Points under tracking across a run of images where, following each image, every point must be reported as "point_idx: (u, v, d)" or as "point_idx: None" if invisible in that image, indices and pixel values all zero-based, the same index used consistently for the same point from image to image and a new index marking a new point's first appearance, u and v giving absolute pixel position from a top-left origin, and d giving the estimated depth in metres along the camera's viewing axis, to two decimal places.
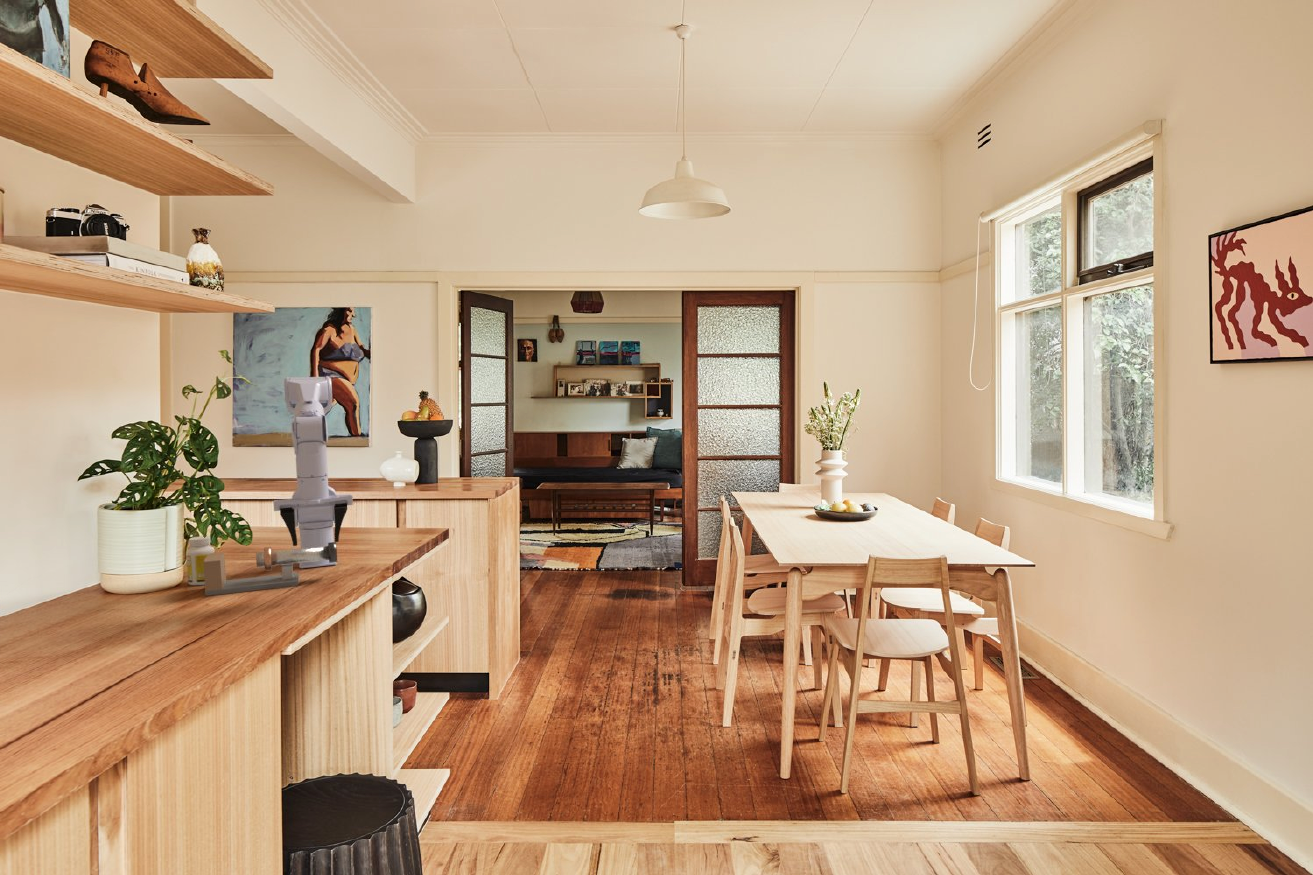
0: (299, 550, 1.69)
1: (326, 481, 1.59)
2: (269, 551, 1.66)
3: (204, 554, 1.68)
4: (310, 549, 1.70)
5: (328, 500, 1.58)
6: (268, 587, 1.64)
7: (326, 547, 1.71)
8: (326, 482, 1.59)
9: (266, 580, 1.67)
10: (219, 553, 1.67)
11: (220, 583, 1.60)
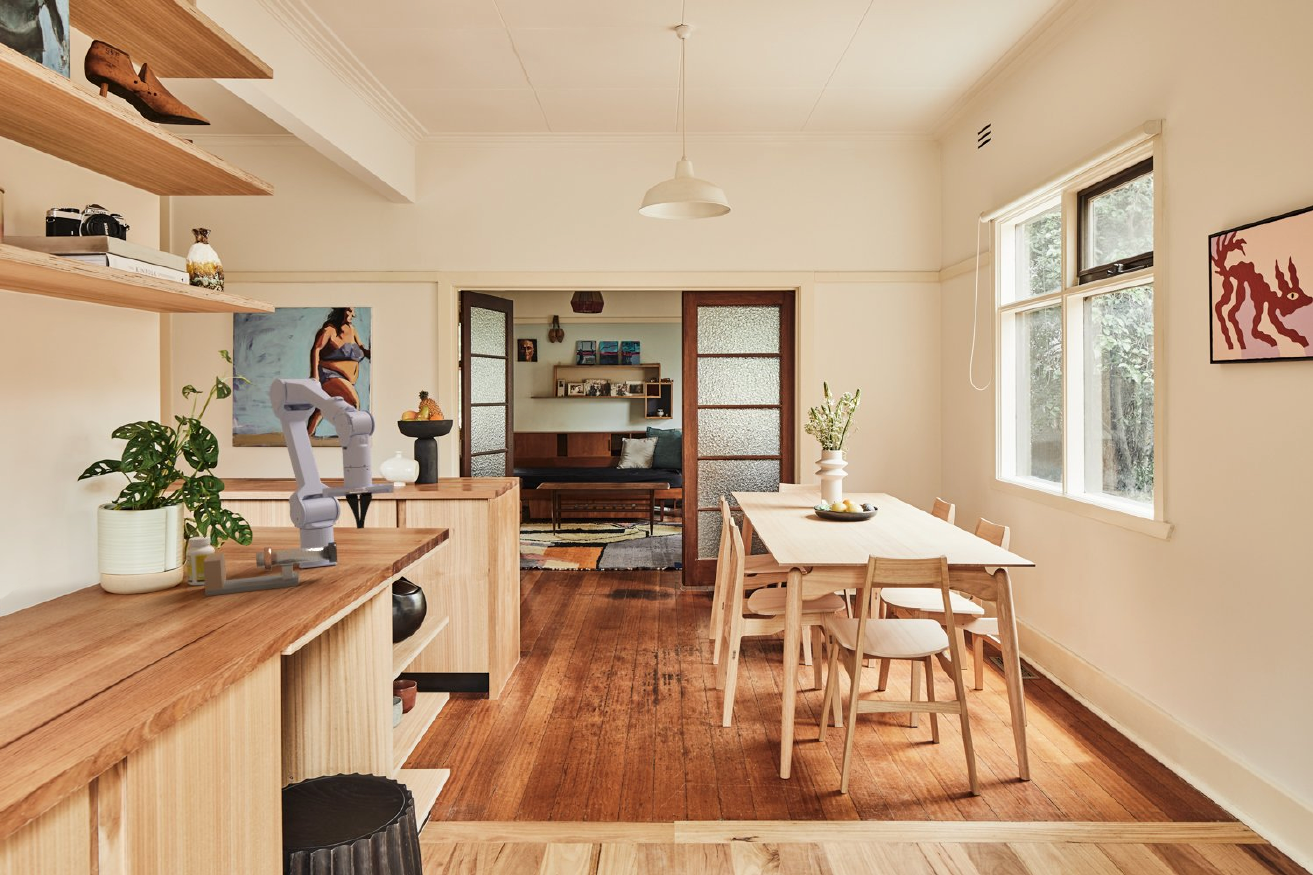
0: (299, 550, 1.69)
1: (370, 471, 1.73)
2: (269, 551, 1.66)
3: (204, 554, 1.68)
4: (310, 549, 1.70)
5: (372, 488, 1.73)
6: (268, 587, 1.64)
7: (326, 547, 1.71)
8: (370, 472, 1.73)
9: (266, 580, 1.67)
10: (219, 553, 1.67)
11: (220, 583, 1.60)
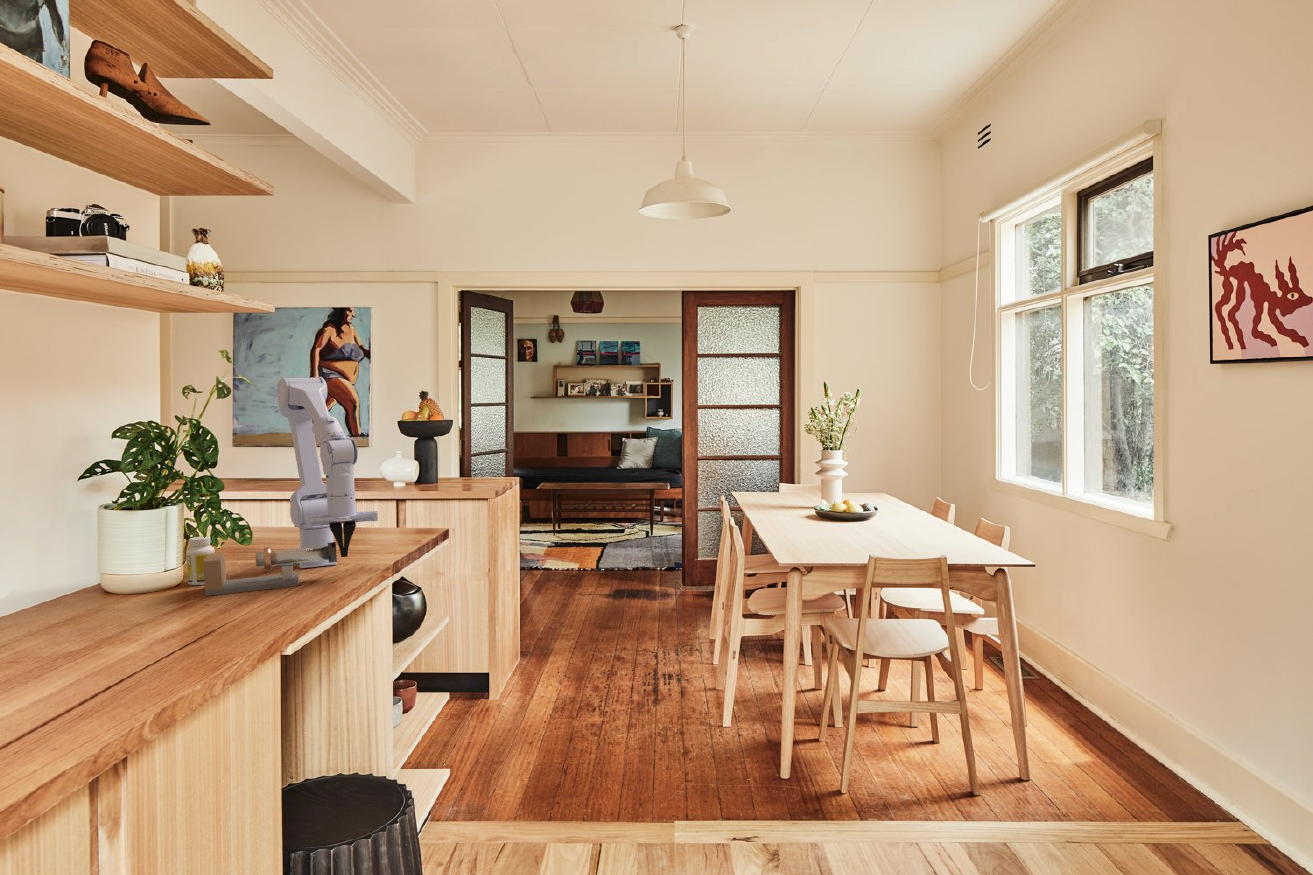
0: (299, 550, 1.69)
1: (353, 499, 1.72)
2: (269, 551, 1.66)
3: (204, 554, 1.68)
4: (310, 549, 1.70)
5: (355, 517, 1.72)
6: (268, 587, 1.64)
7: (326, 547, 1.71)
8: (353, 500, 1.72)
9: (266, 580, 1.67)
10: (219, 553, 1.67)
11: (220, 583, 1.60)
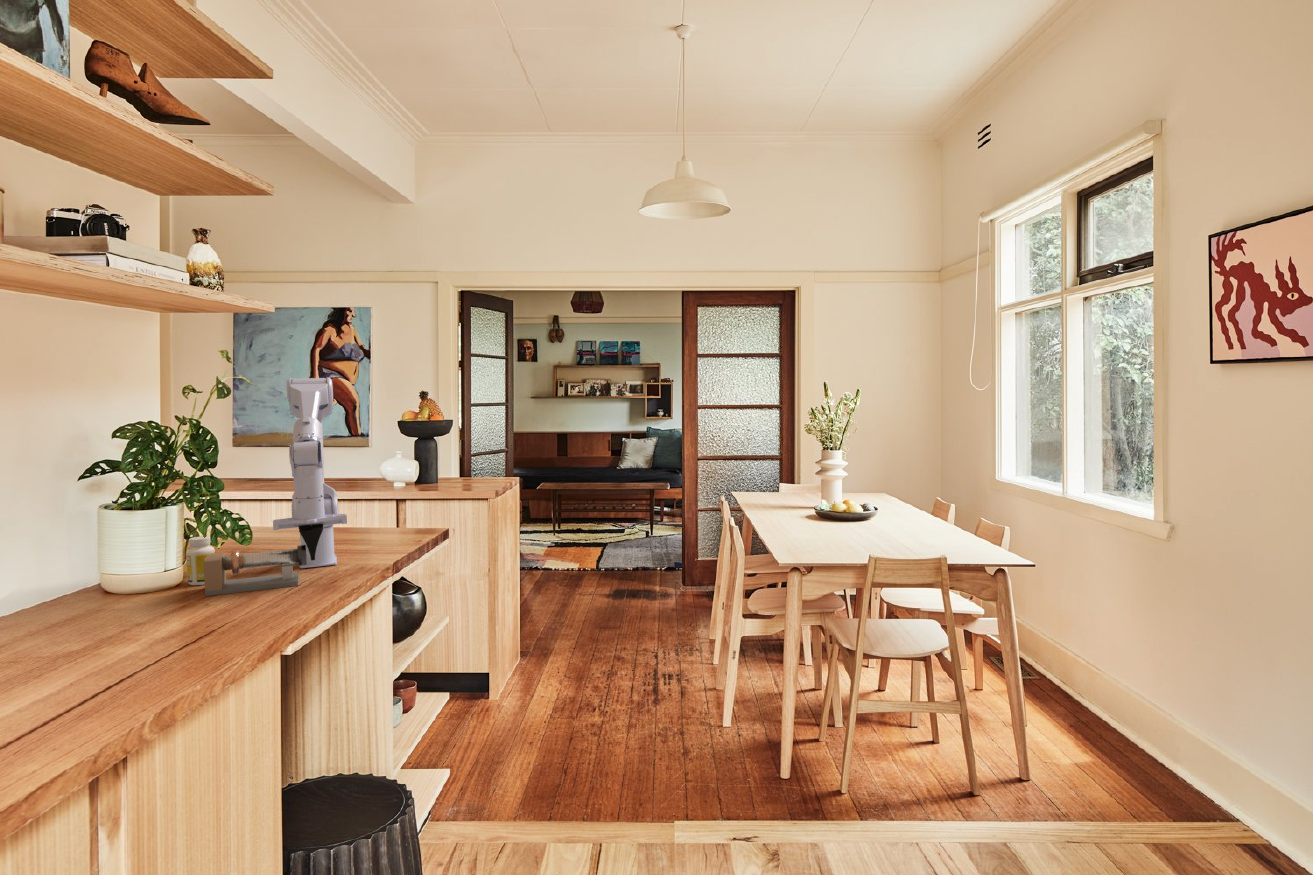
0: (267, 553, 1.67)
1: (322, 502, 1.70)
2: (236, 554, 1.63)
3: (204, 554, 1.68)
4: (279, 552, 1.67)
5: (324, 519, 1.69)
6: (268, 587, 1.64)
7: (295, 550, 1.69)
8: (322, 502, 1.70)
9: (266, 580, 1.67)
10: (219, 553, 1.67)
11: (220, 583, 1.60)
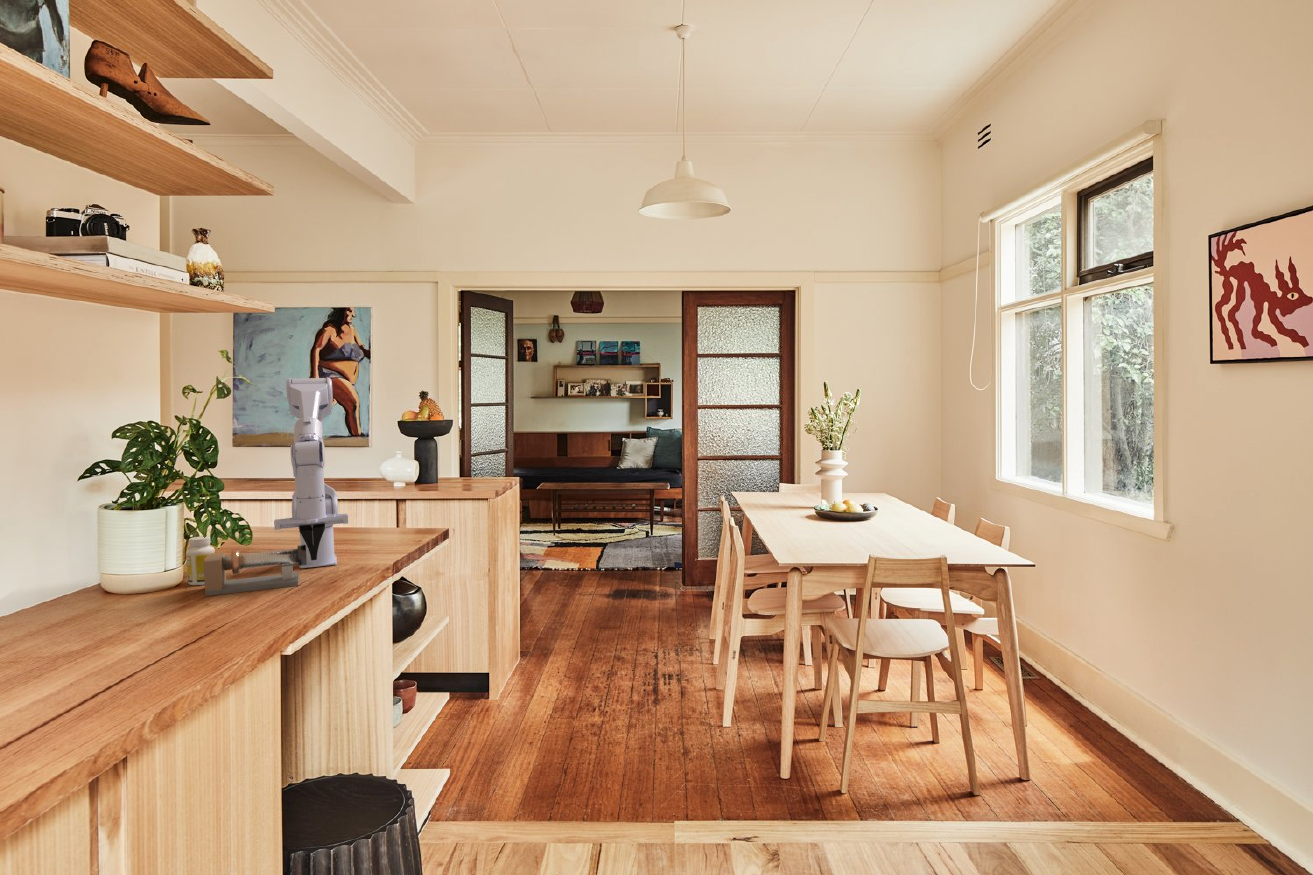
0: (267, 553, 1.67)
1: (323, 501, 1.70)
2: (236, 554, 1.63)
3: (204, 554, 1.68)
4: (279, 552, 1.67)
5: (325, 519, 1.69)
6: (268, 587, 1.64)
7: (295, 550, 1.69)
8: (323, 502, 1.70)
9: (266, 580, 1.67)
10: (219, 553, 1.67)
11: (220, 583, 1.60)
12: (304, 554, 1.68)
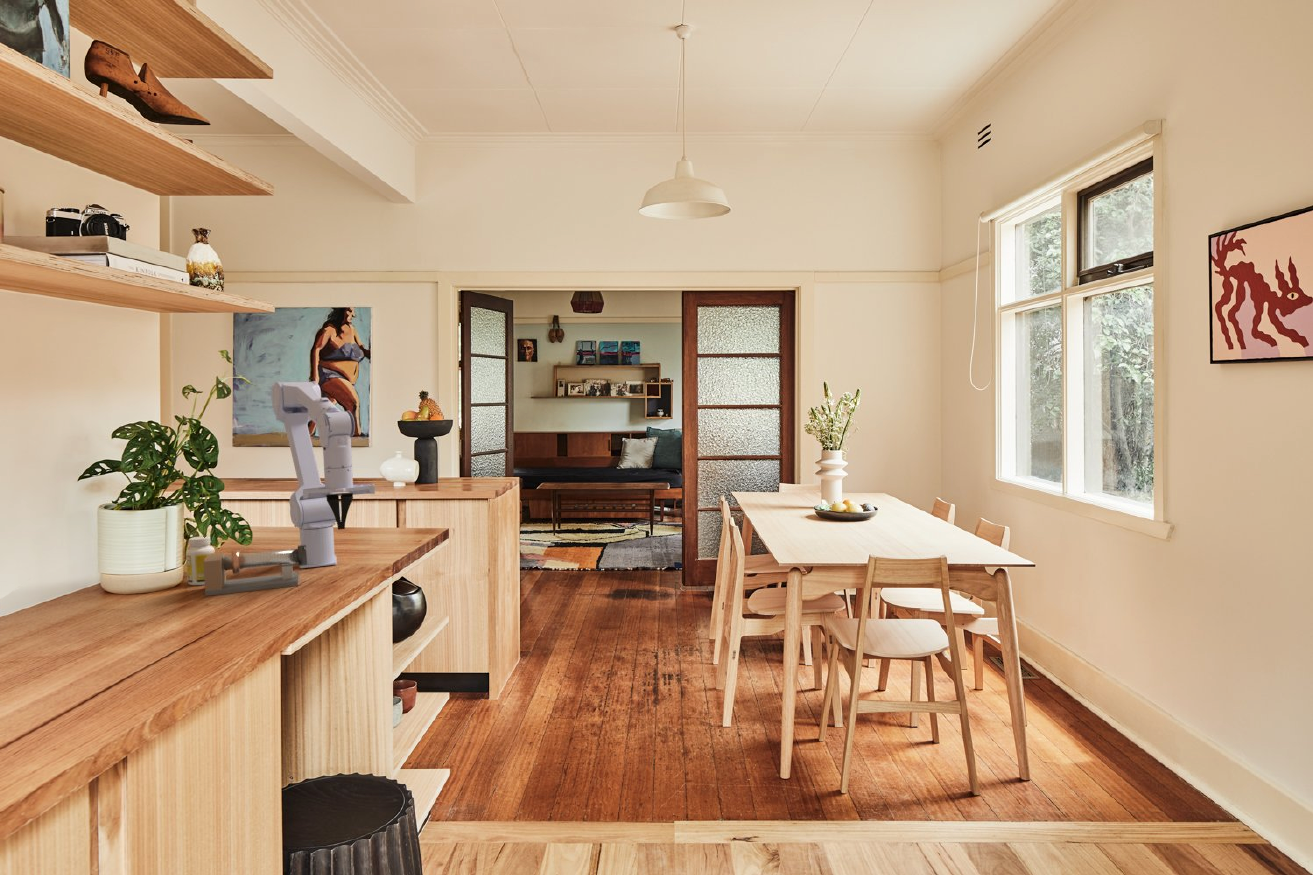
0: (268, 553, 1.67)
1: (351, 471, 1.73)
2: (237, 554, 1.63)
3: (204, 554, 1.68)
4: (279, 552, 1.67)
5: (352, 489, 1.72)
6: (268, 587, 1.64)
7: (295, 550, 1.69)
8: (351, 472, 1.73)
9: (266, 580, 1.67)
10: (219, 553, 1.67)
11: (220, 583, 1.60)
12: (304, 554, 1.68)
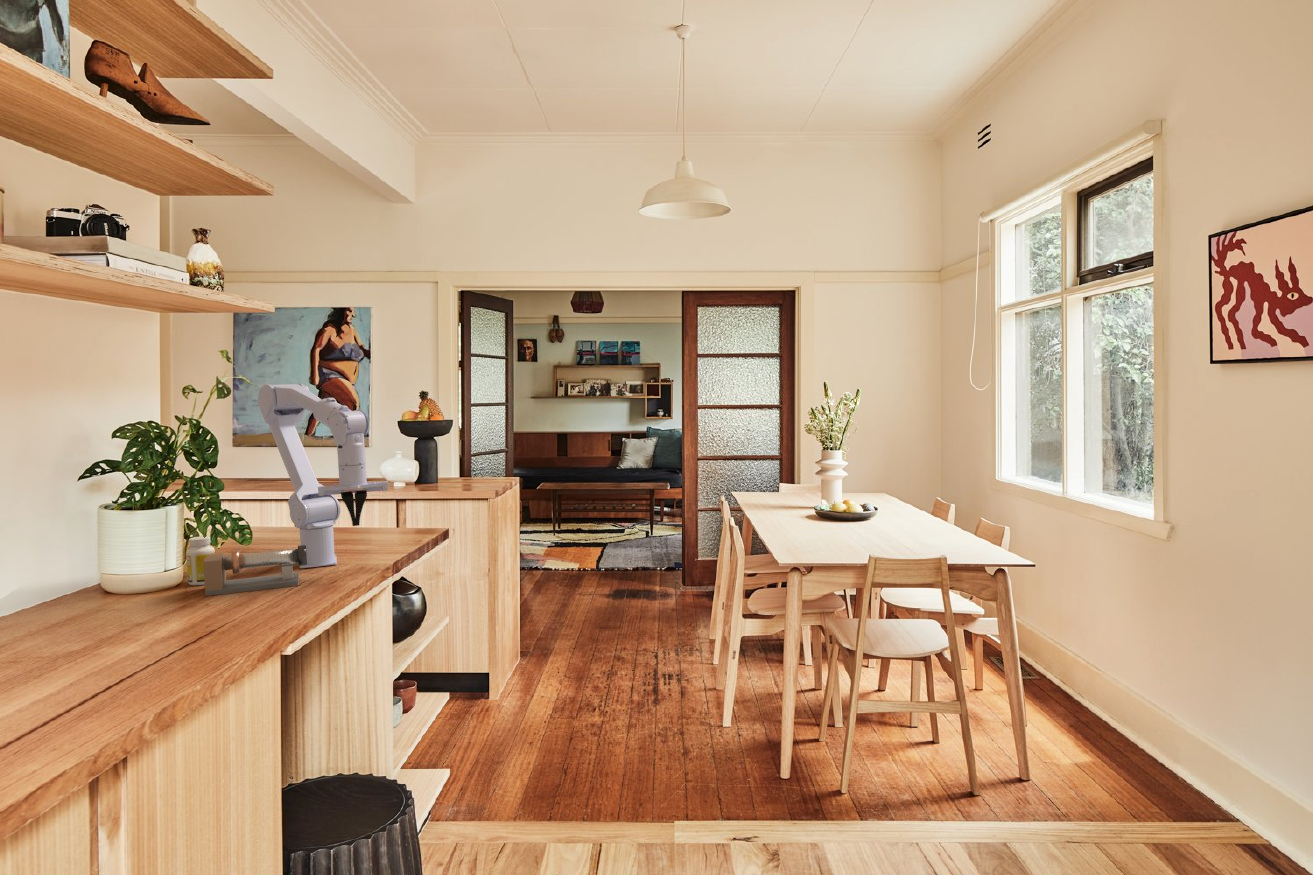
0: (268, 553, 1.67)
1: (364, 469, 1.76)
2: (237, 554, 1.63)
3: (204, 554, 1.68)
4: (279, 552, 1.67)
5: (366, 486, 1.76)
6: (268, 587, 1.64)
7: (295, 550, 1.69)
8: (364, 470, 1.76)
9: (266, 580, 1.67)
10: (219, 553, 1.67)
11: (220, 583, 1.60)
12: (304, 554, 1.68)
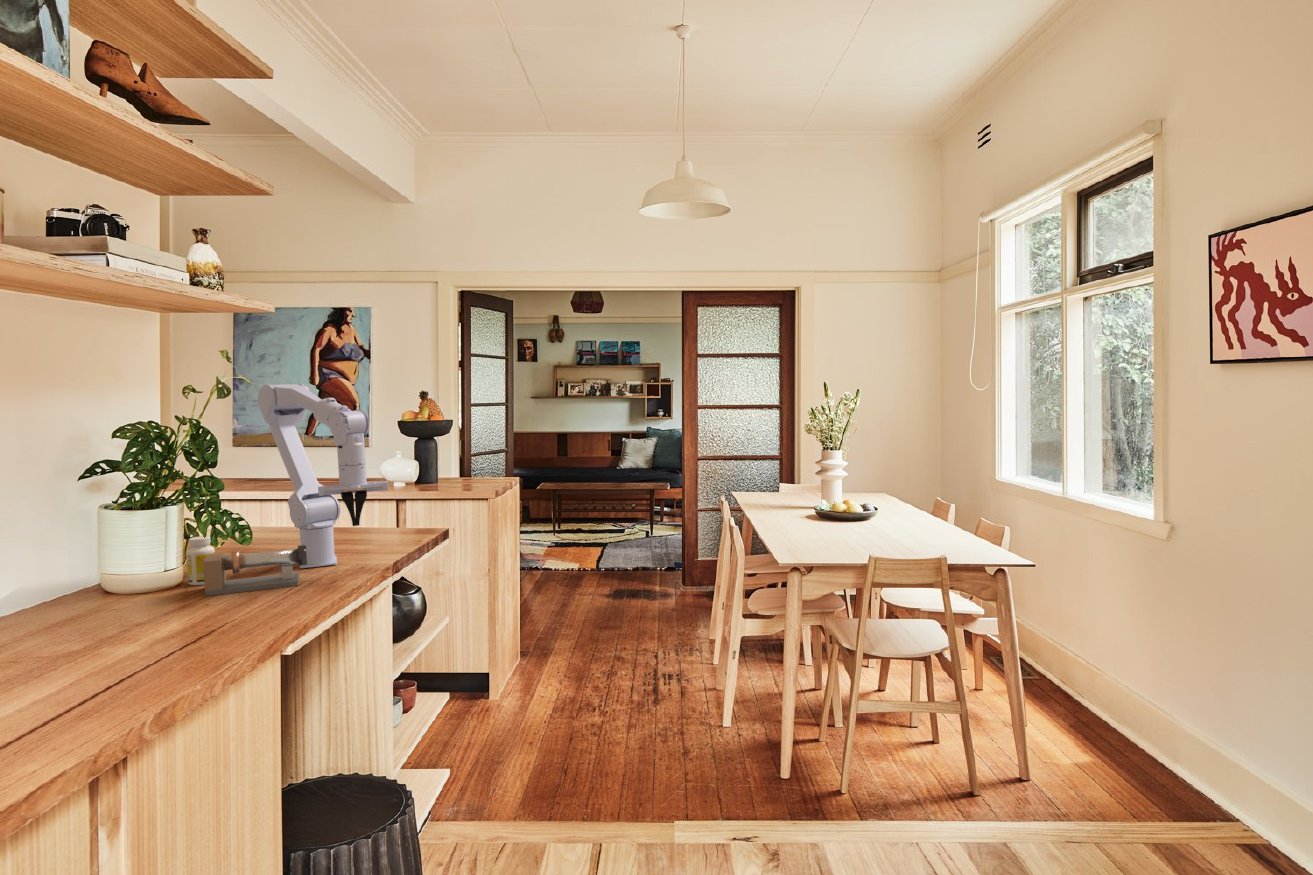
0: (268, 553, 1.67)
1: (364, 469, 1.76)
2: (237, 554, 1.63)
3: (204, 554, 1.68)
4: (279, 552, 1.67)
5: (366, 486, 1.76)
6: (268, 587, 1.64)
7: (295, 550, 1.69)
8: (364, 470, 1.76)
9: (266, 580, 1.67)
10: (219, 553, 1.67)
11: (220, 583, 1.60)
12: (304, 554, 1.68)
